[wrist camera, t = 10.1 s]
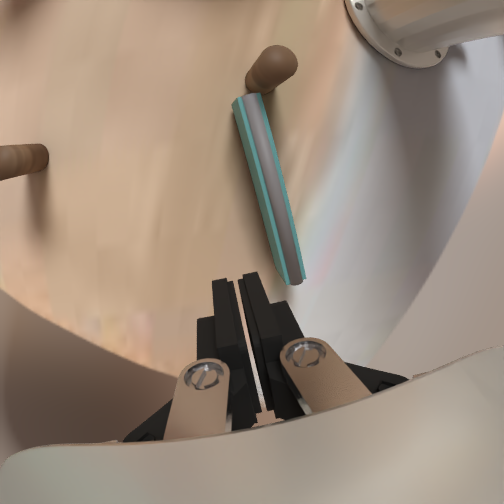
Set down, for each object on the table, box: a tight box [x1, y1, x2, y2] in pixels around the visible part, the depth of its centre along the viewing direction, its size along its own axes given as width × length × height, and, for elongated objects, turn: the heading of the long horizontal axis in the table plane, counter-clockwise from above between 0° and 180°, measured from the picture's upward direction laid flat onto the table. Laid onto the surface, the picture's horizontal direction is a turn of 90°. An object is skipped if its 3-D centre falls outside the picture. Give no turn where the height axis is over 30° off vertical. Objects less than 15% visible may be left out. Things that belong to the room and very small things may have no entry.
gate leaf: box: [232, 93, 306, 285], centre depth 23 cm, size 14×2×4 cm, turn 15°
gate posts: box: [0, 45, 298, 181], centre depth 19 cm, size 22×2×6 cm, turn 105°
